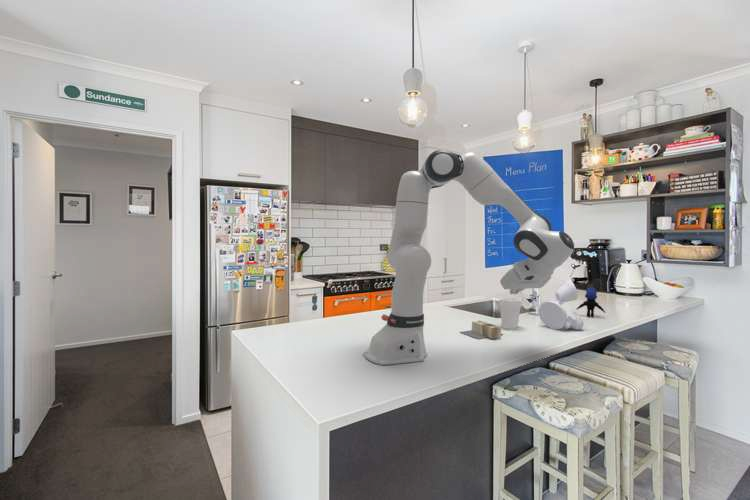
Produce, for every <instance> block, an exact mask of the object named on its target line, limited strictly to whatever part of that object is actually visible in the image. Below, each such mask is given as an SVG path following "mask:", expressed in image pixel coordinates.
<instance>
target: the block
mask: <svg viewBox="0 0 750 500" xmlns="http://www.w3.org/2000/svg"><path fill="white" fill-rule="evenodd" d="M471 330H472V332H473V333H476V334H479V335H482V336H485V337H488V339H491V340H496V339H501V338H502V335H501V334H502V326H500V325H497V324H493V323H489V322H485V321H483V320H475V321H471Z"/></svg>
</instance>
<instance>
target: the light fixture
mask: <svg viewBox="0 0 750 500" xmlns="http://www.w3.org/2000/svg"><path fill="white" fill-rule="evenodd" d="M554 296H555V300H556V301H554V300H549V301H544V302H542V303H541V304H540V305H539V308H538V317H539V319H540V320H541V322H542V323H543V324H544V326H546V327H548V328H550V329H553V330H560V329H562V328H564V329H565V330H569V329H572V330H574V331H577V330H578V331H579V330H581V329H582V328H583V326H584V321H583V320H584V319H582V317H581V316H579V314H578V312H577V311H573V312H572V313H570V314H569V315H568V314H567V311H566V309H565V308H564V307H563V306H562V305H563V304H564V303H567V302H572V301H576V300H577V299H578V290H577V287H576V286H575V284H574V282H573V281H572V280H570V279H568V280H567V281H566V282H564V283H563V284H562V285H561V286H560V287H559V288H558V289H556V291H555V293H554Z"/></svg>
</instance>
